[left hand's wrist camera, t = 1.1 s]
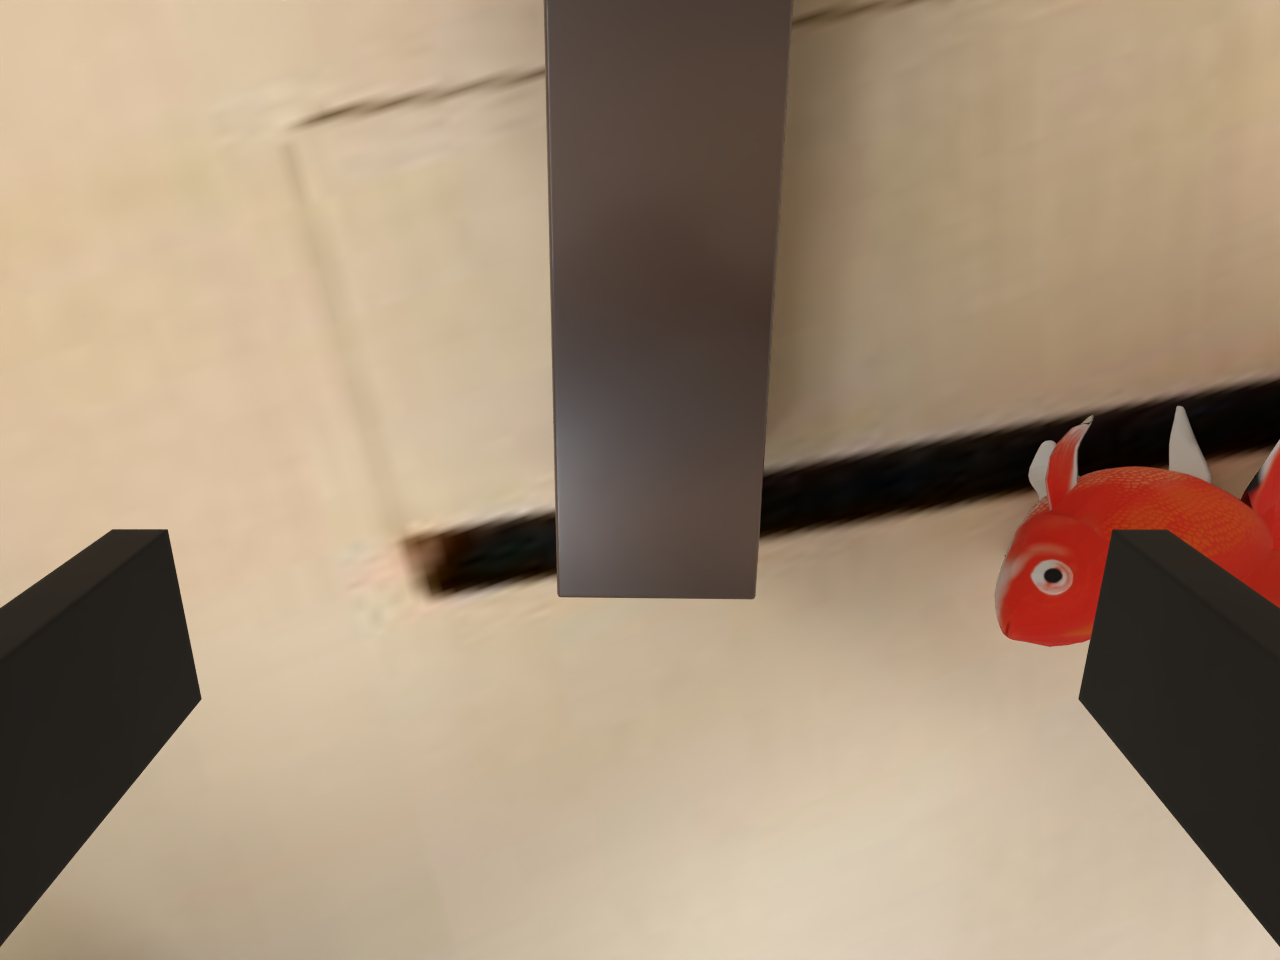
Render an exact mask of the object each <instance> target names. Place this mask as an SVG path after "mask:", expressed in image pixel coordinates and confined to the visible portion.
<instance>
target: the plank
mask: <svg viewBox="0 0 1280 960" xmlns="http://www.w3.org/2000/svg"><path fill="white" fill-rule="evenodd" d="M792 11H793V0H544V30H545V74H546V117H547V161H548V204H549V248H550V292H551V335H552V379H553V422H554V466H555V510H556V553H557V594H558V596H559V597H595V598H687V599H754V598H755V594H756V578H757V562H758V547H759V531H760V515H761V499H762V484H763V468H764V452H765V436H766V421H767V405H768V389H769V373H770V358H771V342H772V326H773V310H774V295H775V279H776V263H777V247H778V232H779V216H780V200H781V184H782V169H783V153H784V137H785V121H786V106H787V90H788V74H789V58H790V43H791V27H792Z"/></svg>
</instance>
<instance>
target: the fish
mask: <svg viewBox="0 0 1280 960" xmlns="http://www.w3.org/2000/svg"><path fill="white" fill-rule="evenodd" d="M1093 419H1094V416H1093V415H1091V416H1090V417H1088V418H1087V419H1086V420H1085V421H1084V422H1083V423H1082V424H1081V425H1078V426H1075V427H1072V428H1071V429H1070V430H1069V431H1068V432H1067V433H1066V434H1065V435H1064V437H1063V438H1062V439H1061V440H1060V441H1059V442H1058V443H1057V444H1056V443H1055V442H1054V441H1045V442H1043V443H1042V444H1041V446H1040V448H1039V449H1038V451H1037V453H1036V455H1035V457H1034V460H1033V462H1032V464H1031V466H1030V470H1029V475H1028V476H1029V480H1030V483H1031V484H1032V486H1033V488H1034V489H1035V490H1036V491H1037V494H1038V496H1039V502H1038V503H1037V504H1036V505H1035V506H1034V507H1033V508H1032V509H1031V510H1030V512H1029V513H1028V514H1027V516H1026V517H1025V519H1024V520H1023V522H1022V523H1021V525H1020V526H1019V528H1018V529H1017V531H1016V533H1015V535H1014V537H1013V539H1012V541H1011V544H1010V546H1009V548H1008V551H1007V554H1006V555H1005V559H1004V561H1003V564H1002V567H1001V570H1000V574H999V577H998V580H997V585H996V591H995V608H996V613H997V618H998V621H999V625H1000V628H1001V630H1002V632H1003V634H1004V635H1006V636H1007V637H1008V638H1010V639H1012V640H1018V641H1024V642H1029V643H1034V644H1039V645H1044V646H1049V647H1052V646H1062V645H1070V644H1074V643H1080V642H1084V641H1087V640H1089V639H1091V634H1092V629H1093V624H1094V619H1095V614H1096V609H1097V604H1098V599H1099V594H1100V589H1101V584H1102V579H1103V574H1104V569H1105V564H1106V559H1107V554H1108V549H1109V544H1110V539H1111V534H1112V529H1167V530H1169V531H1170V532H1172V533H1173V534H1175V535H1176V536H1177V537H1179V538H1180V539H1182V540H1183V541H1185V542H1186V543H1187V544H1189V545H1190V546H1192V547H1193V548H1195V549H1196V550H1197V551H1199V552H1200V553H1202V554H1203V555H1205V556H1206V557H1207V558H1209V559H1210V560H1212V561H1213V562H1215V563H1216V564H1217V565H1219V566H1220V567H1222V568H1223V569H1225V570H1226V571H1227V572H1229V573H1230V574H1232V575H1233V576H1234V577H1236V578H1237V579H1239V580H1240V581H1242V582H1243V583H1244V584H1246V585H1247V586H1249V587H1250V588H1252V589H1253V590H1254V591H1256V592H1257V593H1259V594H1260V595H1262V596H1263V597H1264V598H1266V599H1267V600H1269V601H1270V602H1272V603H1273V604H1274V605H1276V606H1277V607H1279V608H1280V440H1279V441H1278V443H1277V444H1276V446H1275V447H1274V449H1273V450H1272V452H1271V453H1270V455H1269V456H1268V458H1267V459H1266V461H1265V462H1264V464H1263V465H1262V466H1261V468H1260V469H1259V471H1258V472H1257V474H1256V475H1255V477H1254V478H1253V480H1252V481H1251V483H1250V484H1249V486H1248V487H1247V489H1246V490H1245V492H1244V494H1243V496H1242V498H1241V500H1239V499H1238V498H1236V497H1235V496H1233V495H1231V494H1229V493H1227V492H1225V491H1223V490H1222V489H1220V488H1218V487H1216V486H1214V485H1212V476H1211V473H1210V470H1209V467H1208V465H1207V463H1206V461H1205V458H1204V456H1203V454H1202V452H1201V450H1200V448H1199V446H1198V443H1197V441H1196V439H1195V436H1194V434H1193V431H1192V428H1191V426H1190V423H1189V420H1188V417H1187V415H1186V412H1185V409H1184V408H1183V407H1181V406H1177V408H1176V413H1175V418H1174V423H1173V427H1172V431H1171V436H1170V443H1169V470H1165V469H1160V468H1151V467H1135V466H1134V467H1120V468H1112V469H1105V470H1099V471H1095V472H1092V473H1089V474H1086V475H1083V476H1081V477H1080V476H1079V475H1078V471H1079V470H1078V449H1079V447H1080V444H1081V441H1082V440H1083V438H1084V436H1085V434H1086V432H1087V431H1088V429H1089V427H1090V426H1091V424H1092V421H1093Z"/></svg>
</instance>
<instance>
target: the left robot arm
mask: <svg viewBox="0 0 1280 960" xmlns="http://www.w3.org/2000/svg"><path fill="white" fill-rule="evenodd" d="M200 700H201V694H200V689H199V684H198V679H197V674H196V669H195V664H194V659H193V654H192V649H191V644H190V639H189V634H188V629H187V624H186V619H185V614H184V609H183V604H182V599H181V594H180V589H179V584H178V579H177V574H176V569H175V564H174V559H173V554H172V549H171V544H170V539H169V534H168V529H113V530H111V531H110V532H108V533H107V534H105V535H104V536H103V537H101V538H100V539H98V540H97V541H95V542H94V543H93V544H91V545H90V546H88V547H87V548H85V549H84V550H83V551H81V552H80V553H78V554H77V555H75V556H74V557H73V558H71V559H70V560H68V561H67V562H65V563H64V564H63V565H61V566H60V567H58V568H57V569H55V570H54V571H53V572H51V573H50V574H48V575H47V576H46V577H44V578H43V579H41V580H40V581H38V582H37V583H36V584H34V585H33V586H31V587H30V588H28V589H27V590H26V591H24V592H23V593H21V594H20V595H18V596H17V597H16V598H14V599H13V600H11V601H10V602H8V603H7V604H6V605H4V606H3V607H1V608H0V946H1V945H2V944H3V943H4V941H5V940H6V939H7V938H8V937H9V935H10V934H11V933H12V932H13V930H14V929H15V928H16V927H17V925H18V924H19V923H20V922H21V921H22V919H23V918H24V917H25V916H26V914H27V913H28V912H29V911H30V909H31V908H32V907H33V906H34V905H35V903H36V902H37V901H38V900H39V898H40V897H41V896H42V895H43V893H44V892H45V891H46V890H47V889H48V887H49V886H50V885H51V884H52V882H53V881H54V880H55V879H56V877H57V876H58V875H59V874H60V873H61V871H62V870H63V869H64V868H65V866H66V865H67V864H68V863H69V861H70V860H71V859H72V858H73V857H74V855H75V854H76V853H77V852H78V850H79V849H80V848H81V847H82V845H83V844H84V843H85V842H86V841H87V839H88V838H89V837H90V836H91V834H92V833H93V832H94V831H95V829H96V828H97V827H98V826H99V825H100V823H101V822H102V821H103V820H104V818H105V817H106V816H107V815H108V813H109V812H110V811H111V810H112V809H113V807H114V806H115V805H116V804H117V802H118V801H119V800H120V799H121V798H122V796H123V795H124V794H125V793H126V791H127V790H128V789H129V788H130V786H131V785H132V784H133V783H134V782H135V780H136V779H137V778H138V777H139V775H140V774H141V773H142V772H143V770H144V769H145V768H146V767H147V766H148V764H149V763H150V762H151V761H152V759H153V758H154V757H155V756H156V754H157V753H158V752H159V751H160V750H161V748H162V747H163V746H164V745H165V743H166V742H167V741H168V740H169V738H170V737H171V736H172V735H173V734H174V732H175V731H176V730H177V729H178V727H179V726H180V725H181V724H182V722H183V721H184V720H185V719H186V718H187V716H188V715H189V714H190V713H191V711H192V710H193V709H194V708H195V706H196V705H197V704H198V703H199V702H200ZM1079 700H1080V702H1081V703H1082V704H1083V705H1084V706H1085V708H1086V709H1087V710H1088V711H1089V713H1090V714H1091V715H1092V716H1093V718H1094V719H1095V720H1096V721H1097V722H1098V724H1099V725H1100V726H1101V727H1102V729H1103V730H1104V731H1105V732H1106V734H1107V735H1108V736H1109V737H1110V738H1111V740H1112V741H1113V742H1114V743H1115V745H1116V746H1117V747H1118V748H1119V750H1120V751H1121V752H1122V753H1123V754H1124V756H1125V757H1126V758H1127V759H1128V761H1129V762H1130V763H1131V764H1132V766H1133V767H1134V768H1135V769H1136V770H1137V772H1138V773H1139V774H1140V775H1141V777H1142V778H1143V779H1144V780H1145V782H1146V783H1147V784H1148V785H1149V786H1150V788H1151V789H1152V790H1153V791H1154V793H1155V794H1156V795H1157V796H1158V798H1159V799H1160V800H1161V801H1162V802H1163V804H1164V805H1165V806H1166V807H1167V809H1168V810H1169V811H1170V812H1171V813H1172V815H1173V816H1174V817H1175V818H1176V820H1177V821H1178V822H1179V823H1180V825H1181V826H1182V827H1183V828H1184V829H1185V831H1186V832H1187V833H1188V834H1189V836H1190V837H1191V838H1192V839H1193V841H1194V842H1195V843H1196V844H1197V845H1198V847H1199V848H1200V849H1201V850H1202V852H1203V853H1204V854H1205V855H1206V857H1207V858H1208V859H1209V860H1210V861H1211V863H1212V864H1213V865H1214V866H1215V868H1216V869H1217V870H1218V871H1219V873H1220V874H1221V875H1222V876H1223V877H1224V879H1225V880H1226V881H1227V882H1228V884H1229V885H1230V886H1231V887H1232V889H1233V890H1234V891H1235V892H1236V893H1237V895H1238V896H1239V897H1240V898H1241V900H1242V901H1243V902H1244V903H1245V905H1246V906H1247V907H1248V908H1249V909H1250V911H1251V912H1252V913H1253V914H1254V916H1255V917H1256V918H1257V919H1258V921H1259V922H1260V923H1261V924H1262V925H1263V927H1264V928H1265V929H1266V930H1267V932H1268V933H1269V934H1270V935H1271V937H1272V938H1273V939H1274V940H1275V941H1276V943H1277V944H1278V945H1279V946H1280V608H1279V607H1277V606H1276V605H1274V604H1273V603H1272V602H1270V601H1269V600H1267V599H1266V598H1264V597H1263V596H1262V595H1260V594H1259V593H1257V592H1256V591H1254V590H1253V589H1252V588H1250V587H1249V586H1247V585H1246V584H1244V583H1243V582H1242V581H1240V580H1239V579H1237V578H1236V577H1234V576H1233V575H1232V574H1230V573H1229V572H1227V571H1226V570H1225V569H1223V568H1222V567H1220V566H1219V565H1217V564H1216V563H1215V562H1213V561H1212V560H1210V559H1209V558H1207V557H1206V556H1205V555H1203V554H1202V553H1200V552H1199V551H1197V550H1196V549H1195V548H1193V547H1192V546H1190V545H1189V544H1187V543H1186V542H1185V541H1183V540H1182V539H1180V538H1179V537H1177V536H1176V535H1175V534H1173V533H1172V532H1170V531H1169V530H1167V529H1112V534H1111V539H1110V544H1109V549H1108V554H1107V559H1106V564H1105V569H1104V574H1103V579H1102V584H1101V589H1100V594H1099V599H1098V604H1097V609H1096V614H1095V619H1094V624H1093V629H1092V634H1091V639H1090V644H1089V649H1088V654H1087V659H1086V664H1085V669H1084V674H1083V679H1082V684H1081V689H1080V694H1079Z"/></svg>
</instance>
